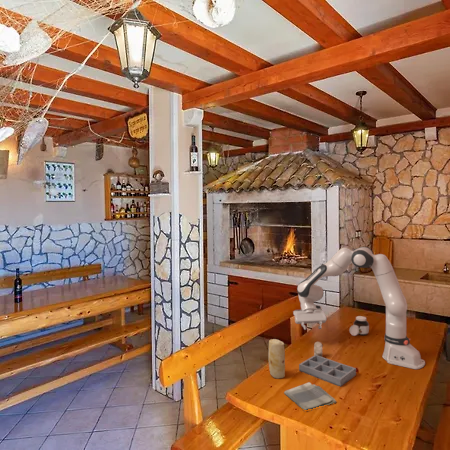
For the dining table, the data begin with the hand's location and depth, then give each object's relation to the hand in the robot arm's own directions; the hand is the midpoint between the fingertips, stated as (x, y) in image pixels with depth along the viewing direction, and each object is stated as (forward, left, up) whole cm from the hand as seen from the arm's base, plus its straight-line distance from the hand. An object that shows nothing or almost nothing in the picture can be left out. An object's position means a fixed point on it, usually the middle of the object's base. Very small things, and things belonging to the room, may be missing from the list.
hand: (312, 329), depth 228 cm
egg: (-8, +7, -14) cm, 17 cm away
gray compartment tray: (-22, +21, -14) cm, 33 cm away
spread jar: (-9, -45, -14) cm, 48 cm away
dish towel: (-29, +49, -14) cm, 58 cm away
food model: (-4, +43, -14) cm, 45 cm away
